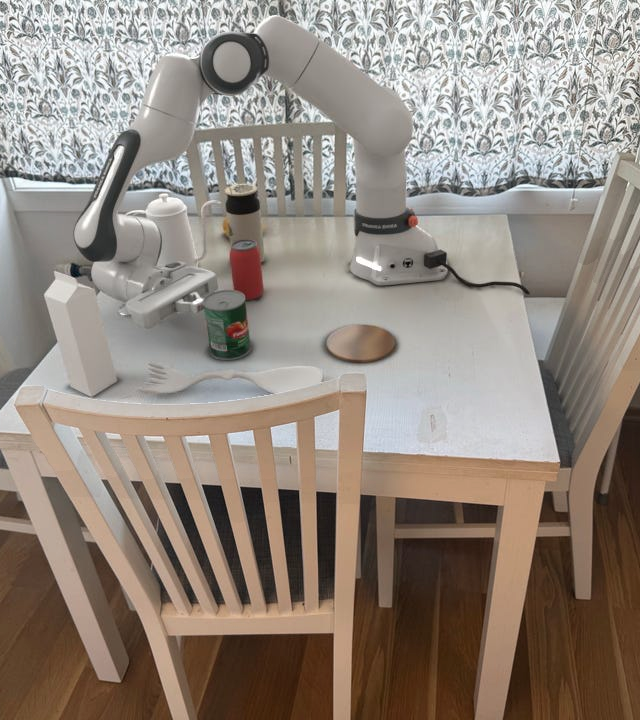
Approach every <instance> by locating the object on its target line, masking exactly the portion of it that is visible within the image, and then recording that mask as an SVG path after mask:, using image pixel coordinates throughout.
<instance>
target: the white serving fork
mask: <svg viewBox="0 0 640 720" xmlns="http://www.w3.org/2000/svg"><path fill="white" fill-rule="evenodd" d="M148 365H149V366H150V367H149V368H148V370H149V371H150V372H147V374H148V375H149V376H150V377H147V378H146V380H147V381H148V382H143V383H142V384H143V385H140V387H137V388H136V391H137V392H139V393H141V394H172V393H178V392H182V391H184V390H186V389H188V388H190V387H193V386H194V385H196V384H198V383H200V382H203V381H205V380H210V379H224V380H225V381H231V380H233V379H244V380H247V381H250V382H252V383H253V384H254V385H255V386H257V387H258V388H260V389H262V390H264V391H266V392H267V393H270V394H272V395H274V394H273V393H279V392H284V391H288V390H292V389H295V388H300V387H305V386H309V385H313V384H316V383H320V382H323V383H324V380H325V374H324V371H323V370H322V369H321V368H319V367H317V366H311V365H294V366H293V365H291V366H283V367H276V368H272V369H267V370H262V371H257V372H245V371H236V370H234V369H233V368H228V369H226V370H220V371H208V372H204V373H200V374H198V375H195V376H193V375H192V376H191V375H188V374H186V373H185V372H184V371H182V370H179V369H176V368H172V367H170V366H166V365H165V364H161V363H160V362H159V363H158V362H156V361H150V362H148Z"/></svg>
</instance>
